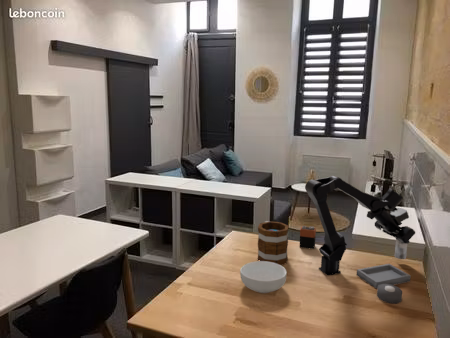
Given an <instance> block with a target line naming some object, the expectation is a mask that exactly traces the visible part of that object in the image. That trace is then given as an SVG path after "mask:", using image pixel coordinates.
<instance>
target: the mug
mask: <svg viewBox="0 0 450 338" xmlns="http://www.w3.org/2000/svg"><path fill="white" fill-rule="evenodd" d="M257 232H258V234H257V235H258V238H257V259H258V260H260V261H267V262H273V263H276V264H279V265H281V266H283V265H286V264H287V262H288V259H289V257H288V245H289V244H288V243H289V237H288V235H289V234H288V232H289V225H288V224H285V223H283V222H280V221H279V222H278V221H270V220H265V221H264V222H261V223H259V224H258V227H257ZM258 260H257V261H258ZM285 263H286V264H285ZM282 264H283V265H282Z"/></svg>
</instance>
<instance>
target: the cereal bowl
mask: <svg viewBox="0 0 450 338" xmlns="http://www.w3.org/2000/svg"><path fill="white" fill-rule="evenodd" d="M287 274H288V273H287V269H286V268H285V267H284V266H283V265H279V264H276V263H273V262H267V261H258V260H257V261H251V262H248V263H245V264H244V265H242V267H241V268H240V269H239V275H240V279H241V282H242V284H244V286H245V287H246V288H248V289H250V290H251V291H254V292H256V293H259V294H269V293H272V292H275V291H277V290H279V289H280V288H282V287H283V286H284V285H285V283H286V281H287Z"/></svg>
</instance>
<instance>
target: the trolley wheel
mask: <svg viewBox="0 0 450 338" xmlns="http://www.w3.org/2000/svg"><path fill="white" fill-rule="evenodd" d="M376 297H377V298H378V299H379V300H380V301H382V302H384V303H387V304H400V303H401V302H402V301H403V290H402V289H401V288H400V287H398V286H397V285H390V284H381V285H379V286H378V288H377V291H376Z"/></svg>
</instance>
